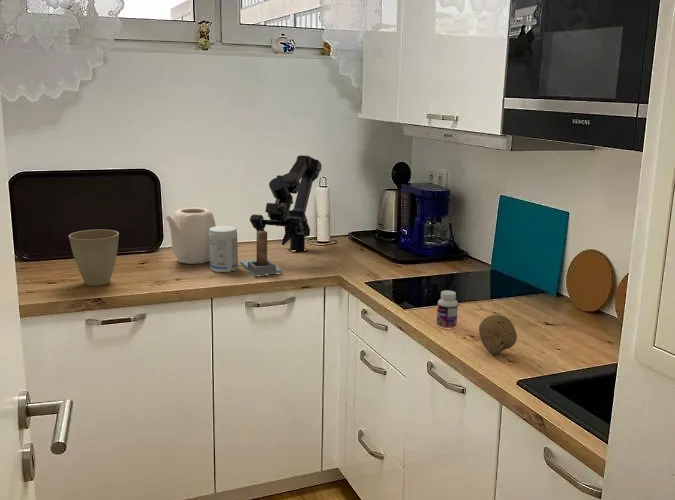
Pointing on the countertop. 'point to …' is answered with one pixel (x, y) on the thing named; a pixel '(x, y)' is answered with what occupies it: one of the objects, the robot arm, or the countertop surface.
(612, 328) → the countertop surface
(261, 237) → the stool leg
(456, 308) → the pill bottle
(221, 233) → the supplement tub
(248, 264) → the seat board
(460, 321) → the countertop surface
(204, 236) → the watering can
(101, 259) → the plant pot
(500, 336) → the natural sponge
